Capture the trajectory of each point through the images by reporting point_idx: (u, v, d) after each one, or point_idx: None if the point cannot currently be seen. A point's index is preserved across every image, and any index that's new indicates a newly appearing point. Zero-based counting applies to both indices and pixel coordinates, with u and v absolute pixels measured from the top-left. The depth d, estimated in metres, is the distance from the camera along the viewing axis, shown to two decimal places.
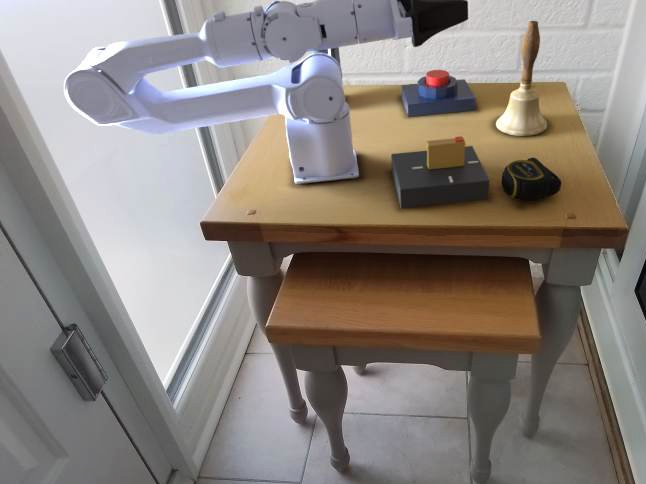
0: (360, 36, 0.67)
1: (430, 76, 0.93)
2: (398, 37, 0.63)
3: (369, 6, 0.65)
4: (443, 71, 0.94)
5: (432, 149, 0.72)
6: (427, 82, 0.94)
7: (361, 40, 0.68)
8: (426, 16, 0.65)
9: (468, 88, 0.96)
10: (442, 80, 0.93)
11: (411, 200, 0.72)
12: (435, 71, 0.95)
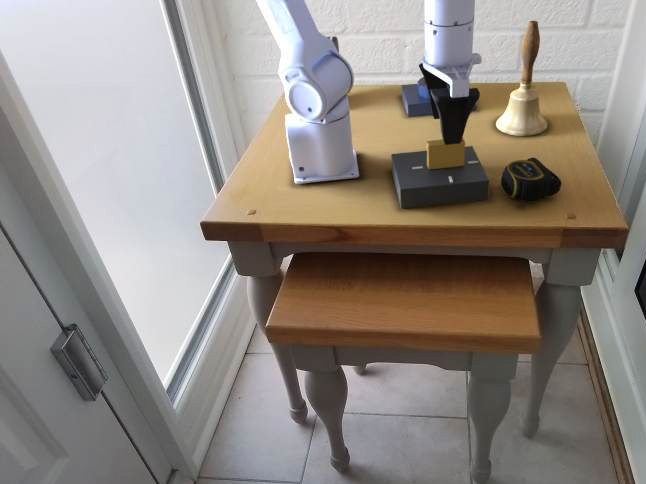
0: (441, 28, 0.60)
1: None
2: (453, 82, 0.59)
3: (467, 40, 0.61)
4: None
5: (432, 149, 0.72)
6: None
7: (434, 28, 0.60)
8: (455, 105, 0.64)
9: None
10: None
11: (411, 200, 0.72)
12: None
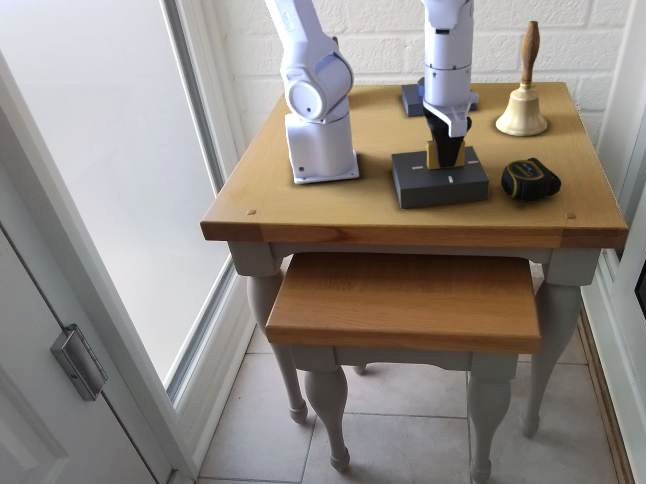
0: (440, 72, 0.63)
1: None
2: (452, 123, 0.63)
3: (465, 81, 0.65)
4: None
5: (432, 149, 0.72)
6: None
7: (434, 71, 0.64)
8: None
9: None
10: None
11: (411, 200, 0.72)
12: None
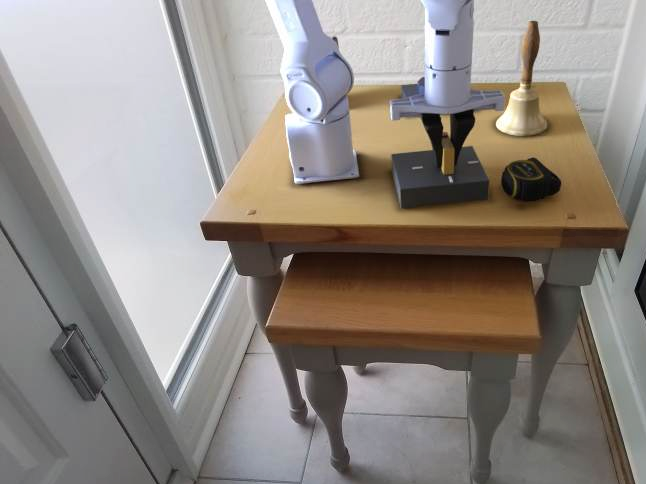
0: (470, 66, 0.64)
1: None
2: (504, 96, 0.68)
3: None
4: None
5: None
6: None
7: (467, 69, 0.64)
8: None
9: None
10: None
11: (411, 200, 0.72)
12: None
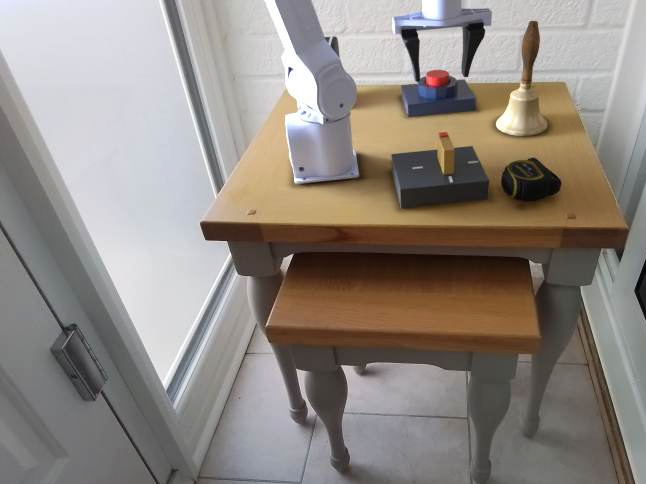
0: None
1: (430, 76, 0.93)
2: (491, 12, 0.78)
3: None
4: (443, 71, 0.94)
5: None
6: (427, 82, 0.94)
7: None
8: None
9: (468, 88, 0.96)
10: (442, 80, 0.93)
11: (411, 200, 0.72)
12: (435, 71, 0.95)
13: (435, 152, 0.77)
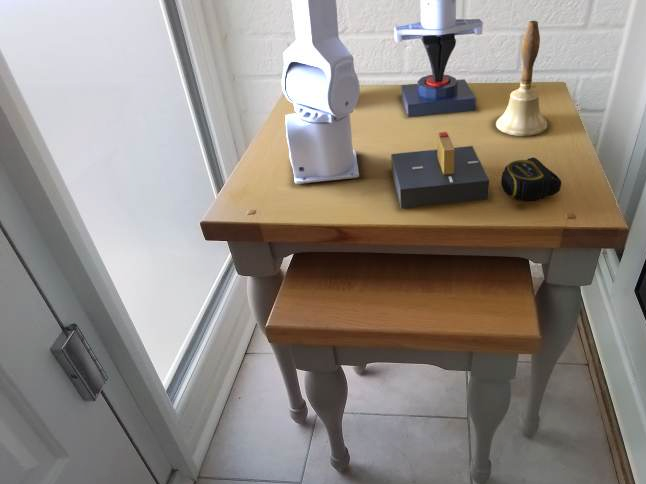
0: None
1: (430, 82, 0.94)
2: None
3: None
4: (443, 77, 0.95)
5: None
6: None
7: None
8: None
9: (468, 88, 0.96)
10: None
11: (411, 200, 0.72)
12: None
13: (435, 152, 0.77)
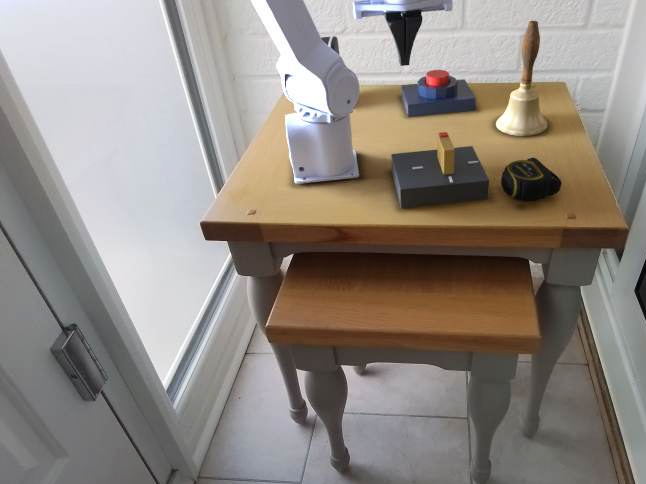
0: None
1: (430, 76, 0.93)
2: None
3: None
4: (443, 71, 0.94)
5: None
6: (427, 82, 0.94)
7: None
8: None
9: (468, 88, 0.96)
10: (442, 80, 0.93)
11: (411, 200, 0.72)
12: (435, 71, 0.95)
13: (435, 152, 0.77)
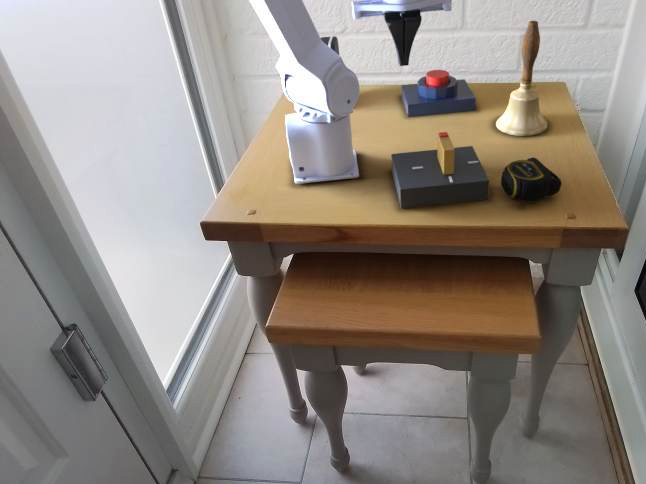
0: None
1: (430, 76, 0.93)
2: None
3: None
4: (443, 71, 0.94)
5: None
6: (427, 82, 0.94)
7: None
8: None
9: (468, 88, 0.96)
10: (442, 80, 0.93)
11: (411, 200, 0.72)
12: (435, 71, 0.95)
13: (435, 152, 0.77)
